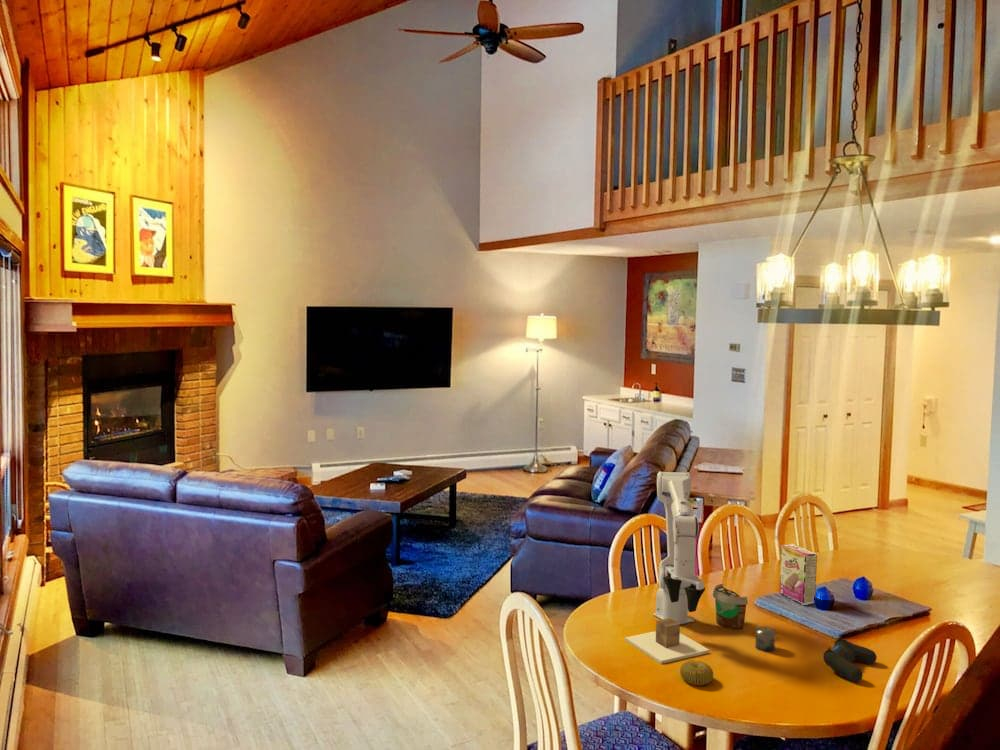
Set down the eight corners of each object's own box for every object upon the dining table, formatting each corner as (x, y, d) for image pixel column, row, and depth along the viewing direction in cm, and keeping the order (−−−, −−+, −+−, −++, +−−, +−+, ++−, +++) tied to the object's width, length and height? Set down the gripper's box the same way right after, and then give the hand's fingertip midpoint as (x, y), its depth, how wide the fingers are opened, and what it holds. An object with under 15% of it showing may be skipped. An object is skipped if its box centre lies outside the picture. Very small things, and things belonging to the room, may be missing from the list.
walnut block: (655, 641, 217) (656, 620, 216) (668, 638, 219) (669, 617, 218) (666, 648, 213) (666, 626, 212) (679, 645, 215) (679, 623, 214)
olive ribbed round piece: (719, 665, 196) (700, 675, 191) (719, 681, 196) (700, 691, 191) (692, 654, 202) (673, 664, 197) (692, 670, 202) (673, 679, 197)
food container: (703, 618, 236) (704, 585, 235) (720, 615, 238) (721, 583, 237) (728, 634, 224) (730, 599, 223) (746, 631, 226) (748, 597, 226)
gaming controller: (868, 669, 209) (835, 641, 214) (881, 654, 207) (847, 626, 212) (849, 692, 196) (815, 662, 201) (863, 677, 194) (828, 647, 199)
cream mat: (625, 640, 219) (625, 637, 219) (671, 630, 226) (671, 627, 226) (660, 664, 205) (660, 661, 205) (709, 652, 212) (709, 649, 212)
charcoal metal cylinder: (751, 646, 217) (752, 628, 216) (765, 642, 219) (765, 625, 218) (764, 653, 212) (765, 635, 212) (778, 650, 214) (779, 632, 214)
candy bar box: (778, 594, 256) (780, 544, 255) (790, 592, 258) (792, 543, 256) (803, 606, 246) (805, 555, 244) (815, 604, 247) (818, 553, 246)
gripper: (656, 553, 223) (655, 599, 224) (690, 568, 210) (688, 618, 211) (676, 549, 226) (675, 596, 228) (710, 565, 213) (709, 613, 215)
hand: (683, 606), depth 220 cm, fingers open, 7 cm apart
